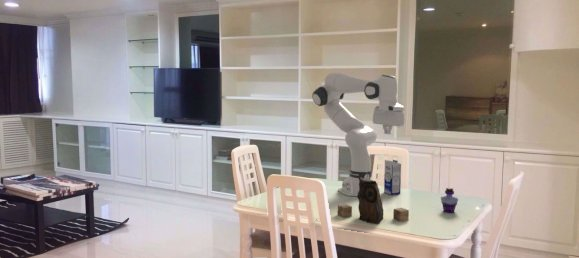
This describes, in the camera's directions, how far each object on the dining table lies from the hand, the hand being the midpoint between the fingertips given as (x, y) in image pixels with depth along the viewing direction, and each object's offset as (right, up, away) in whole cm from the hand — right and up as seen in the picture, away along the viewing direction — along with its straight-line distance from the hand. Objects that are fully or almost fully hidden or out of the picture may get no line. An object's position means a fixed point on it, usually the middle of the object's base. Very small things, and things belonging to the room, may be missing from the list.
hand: (387, 133), depth 234 cm
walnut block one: (-23, -40, -8) cm, 47 cm away
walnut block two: (+3, -41, -15) cm, 44 cm away
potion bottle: (+31, -40, -1) cm, 50 cm away
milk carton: (+11, -36, +38) cm, 53 cm away
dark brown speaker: (-10, -41, -15) cm, 45 cm away
